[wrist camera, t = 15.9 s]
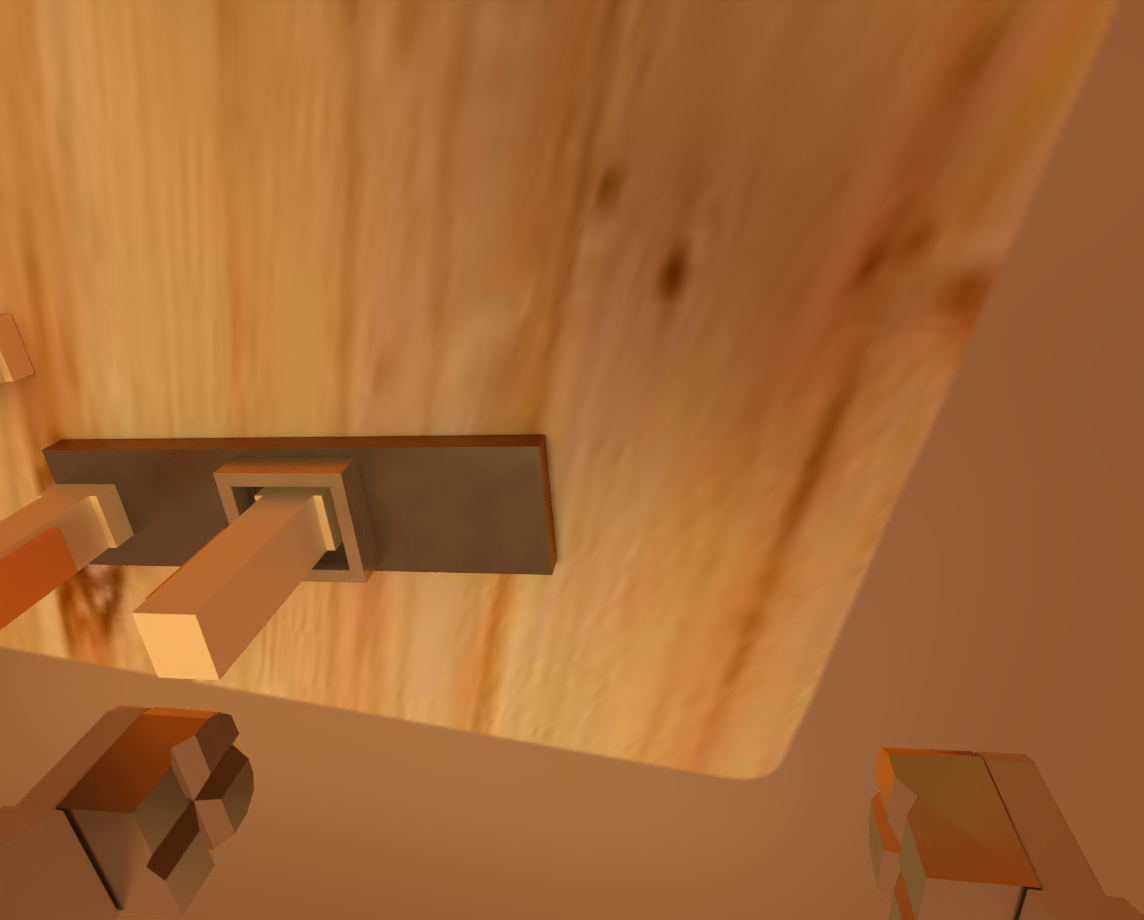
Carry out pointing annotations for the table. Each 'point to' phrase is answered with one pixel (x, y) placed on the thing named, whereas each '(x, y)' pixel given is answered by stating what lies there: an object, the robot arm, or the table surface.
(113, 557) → the rail
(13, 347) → the white orange block
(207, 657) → the beige tall square block
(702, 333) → the table surface
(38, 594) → the post
